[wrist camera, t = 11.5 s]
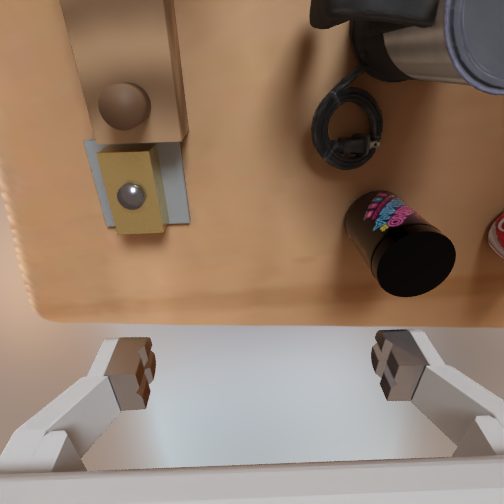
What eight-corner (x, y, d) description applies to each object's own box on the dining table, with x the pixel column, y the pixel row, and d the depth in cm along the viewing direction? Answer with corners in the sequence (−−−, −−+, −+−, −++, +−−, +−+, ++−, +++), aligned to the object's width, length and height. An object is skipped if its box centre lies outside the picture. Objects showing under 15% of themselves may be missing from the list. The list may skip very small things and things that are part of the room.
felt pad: (85, 139, 32) (83, 141, 31) (179, 136, 32) (178, 137, 32) (108, 224, 36) (106, 226, 36) (190, 220, 37) (189, 222, 36)
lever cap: (108, 145, 32) (93, 155, 28) (156, 143, 32) (147, 152, 28) (126, 221, 36) (115, 237, 32) (169, 219, 36) (162, 235, 32)
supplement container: (414, 212, 37) (471, 260, 28) (369, 252, 40) (408, 309, 31) (376, 175, 35) (424, 215, 26) (330, 221, 37) (360, 272, 28)
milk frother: (464, -66, 26) (695, -194, 13) (450, 139, 33) (584, 187, 21) (285, -14, 27) (330, -84, 14) (311, 172, 34) (357, 238, 22)
